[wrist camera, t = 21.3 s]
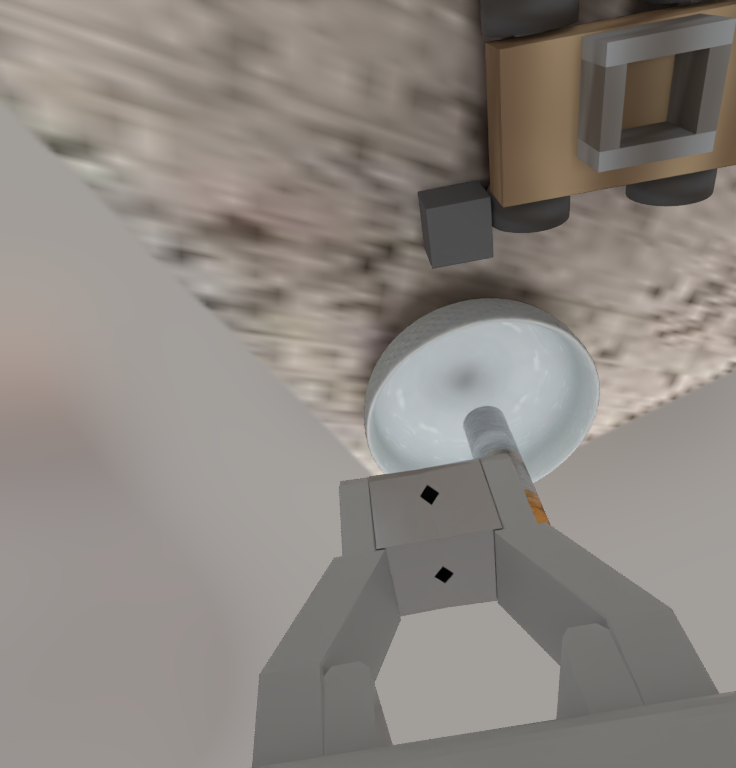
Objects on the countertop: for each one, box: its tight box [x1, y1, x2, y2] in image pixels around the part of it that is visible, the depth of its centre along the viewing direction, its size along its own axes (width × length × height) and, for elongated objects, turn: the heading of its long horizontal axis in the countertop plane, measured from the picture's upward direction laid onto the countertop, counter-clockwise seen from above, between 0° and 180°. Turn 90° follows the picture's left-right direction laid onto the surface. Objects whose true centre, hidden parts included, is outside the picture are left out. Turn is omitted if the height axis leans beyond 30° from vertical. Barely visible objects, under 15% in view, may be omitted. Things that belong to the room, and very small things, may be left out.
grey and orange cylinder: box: [463, 406, 550, 525], centre depth 38 cm, size 3×3×10 cm
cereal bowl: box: [364, 298, 600, 483], centre depth 44 cm, size 17×17×7 cm
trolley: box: [480, 0, 736, 233], centre depth 32 cm, size 14×13×9 cm
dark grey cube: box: [418, 180, 493, 268], centre depth 39 cm, size 4×4×4 cm
